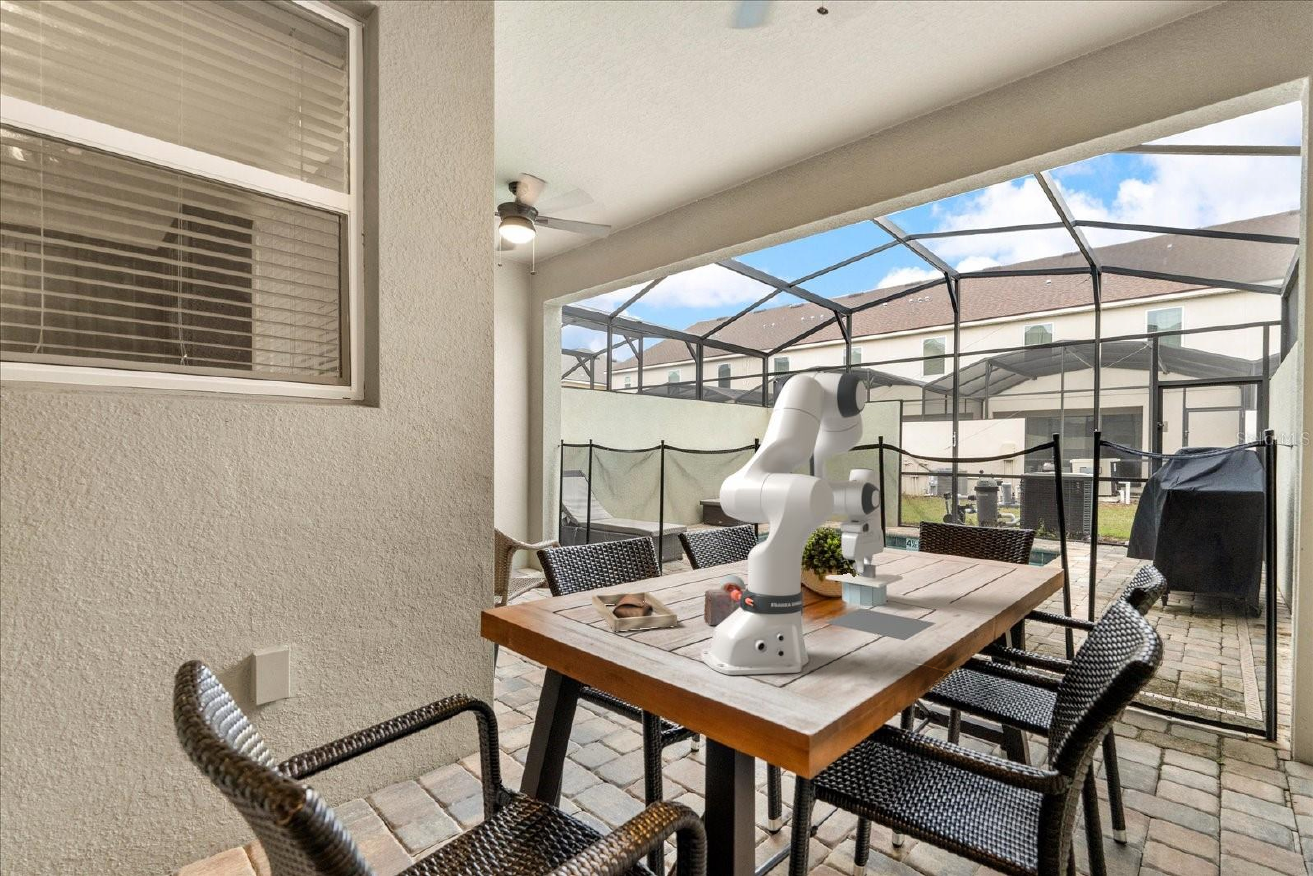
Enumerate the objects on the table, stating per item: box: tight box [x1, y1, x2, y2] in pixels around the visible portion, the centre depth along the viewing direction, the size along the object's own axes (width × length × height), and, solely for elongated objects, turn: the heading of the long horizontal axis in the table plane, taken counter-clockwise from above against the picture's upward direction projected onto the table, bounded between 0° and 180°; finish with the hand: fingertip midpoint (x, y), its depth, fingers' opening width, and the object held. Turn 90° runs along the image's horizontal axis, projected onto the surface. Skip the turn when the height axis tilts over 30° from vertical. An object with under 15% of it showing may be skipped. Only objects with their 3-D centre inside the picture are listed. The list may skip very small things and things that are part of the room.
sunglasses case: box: [611, 592, 651, 618], centre depth 158 cm, size 18×7×7 cm
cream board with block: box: [825, 562, 904, 587], centre depth 175 cm, size 16×16×4 cm
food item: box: [703, 584, 746, 626], centre depth 153 cm, size 14×8×10 cm, turn 97°
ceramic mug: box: [718, 574, 747, 590], centre depth 171 cm, size 11×8×8 cm
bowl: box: [841, 581, 888, 607], centre depth 175 cm, size 12×12×6 cm
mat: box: [824, 608, 936, 641], centre depth 151 cm, size 20×20×1 cm
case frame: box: [591, 591, 678, 631], centre depth 158 cm, size 16×26×3 cm, turn 18°
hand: (863, 571), depth 175 cm, fingers closed on cream board with block, 2 cm apart
